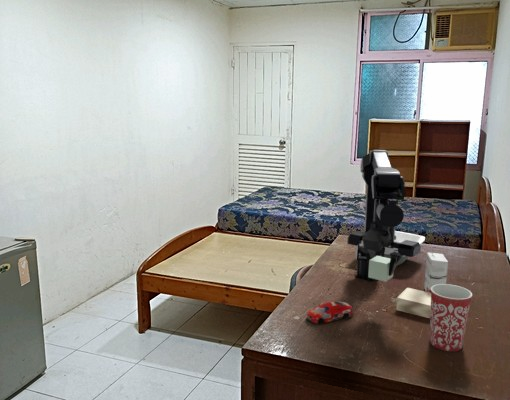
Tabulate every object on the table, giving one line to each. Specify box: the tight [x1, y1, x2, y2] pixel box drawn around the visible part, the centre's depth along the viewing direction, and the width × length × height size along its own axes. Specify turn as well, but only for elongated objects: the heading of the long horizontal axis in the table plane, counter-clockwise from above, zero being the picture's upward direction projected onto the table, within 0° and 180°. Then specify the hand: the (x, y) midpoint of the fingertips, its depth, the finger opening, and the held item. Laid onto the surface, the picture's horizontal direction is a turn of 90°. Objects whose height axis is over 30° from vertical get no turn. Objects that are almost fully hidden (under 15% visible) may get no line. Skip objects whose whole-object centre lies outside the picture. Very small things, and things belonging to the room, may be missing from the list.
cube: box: [368, 256, 394, 283], centre depth 126 cm, size 5×5×5 cm
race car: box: [306, 300, 354, 325], centre depth 123 cm, size 13×5×4 cm, turn 113°
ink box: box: [423, 252, 449, 293], centre depth 139 cm, size 9×5×12 cm, turn 168°
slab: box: [396, 287, 431, 319], centre depth 129 cm, size 9×9×4 cm
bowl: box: [384, 230, 426, 266], centre depth 171 cm, size 22×23×8 cm
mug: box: [429, 283, 473, 352], centre depth 110 cm, size 13×9×14 cm
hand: (381, 273), depth 126 cm, fingers closed on cube, 5 cm apart
